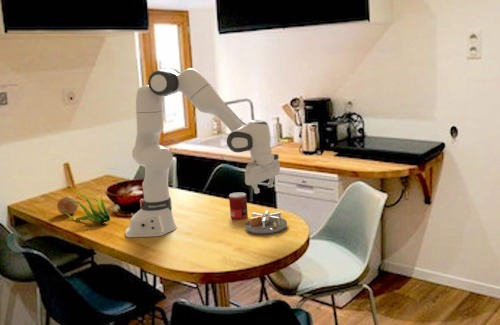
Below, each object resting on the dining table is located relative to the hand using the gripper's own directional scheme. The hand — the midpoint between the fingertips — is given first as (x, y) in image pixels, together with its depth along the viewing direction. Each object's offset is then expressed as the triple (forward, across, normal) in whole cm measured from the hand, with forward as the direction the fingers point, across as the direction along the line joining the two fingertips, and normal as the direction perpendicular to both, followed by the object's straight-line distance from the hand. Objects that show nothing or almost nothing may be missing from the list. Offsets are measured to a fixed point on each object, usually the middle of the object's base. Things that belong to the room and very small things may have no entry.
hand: (263, 190), depth 223 cm
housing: (+17, 0, 0) cm, 17 cm away
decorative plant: (+17, -33, +86) cm, 94 cm away
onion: (+17, -30, +103) cm, 109 cm away
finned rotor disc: (+15, 0, 0) cm, 15 cm away
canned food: (+17, +6, +20) cm, 27 cm away
